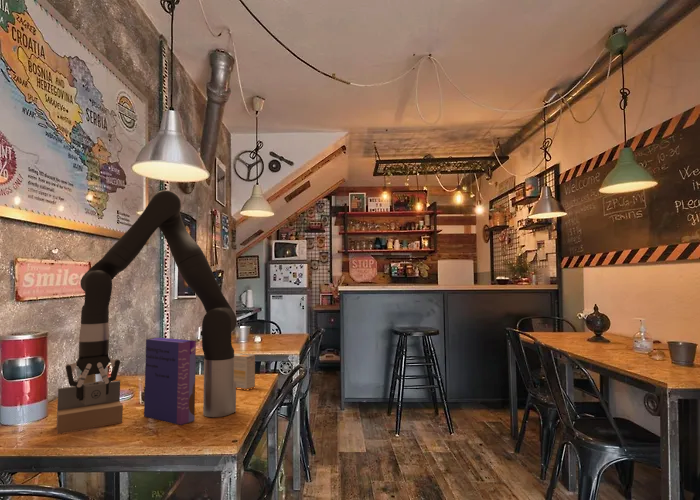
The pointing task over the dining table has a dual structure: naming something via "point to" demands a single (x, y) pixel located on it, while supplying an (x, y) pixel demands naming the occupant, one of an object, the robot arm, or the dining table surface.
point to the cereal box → (170, 380)
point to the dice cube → (94, 393)
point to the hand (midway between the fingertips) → (92, 397)
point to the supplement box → (244, 371)
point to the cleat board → (87, 410)
